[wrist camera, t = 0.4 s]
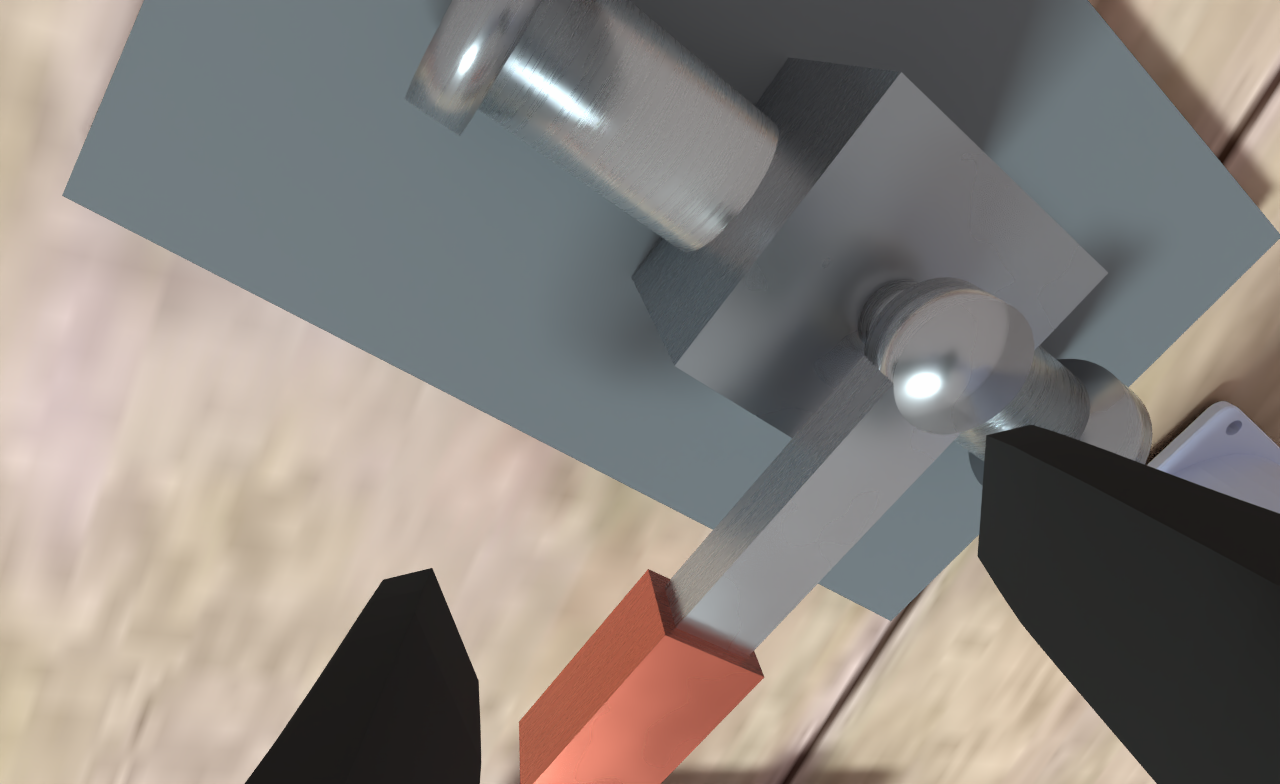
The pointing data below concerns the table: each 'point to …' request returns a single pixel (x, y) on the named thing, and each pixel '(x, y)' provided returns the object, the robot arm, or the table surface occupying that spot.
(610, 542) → the table surface
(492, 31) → the valve manifold
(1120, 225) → the mounting plate
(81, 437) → the table surface
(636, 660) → the valve lever
